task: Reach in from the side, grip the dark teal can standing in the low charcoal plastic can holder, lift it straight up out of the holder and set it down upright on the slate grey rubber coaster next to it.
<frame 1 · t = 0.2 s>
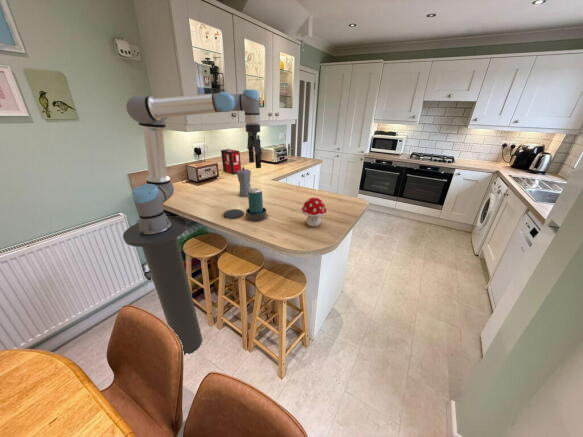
hand: (254, 165, 129), 28 cm above the table, tool pointing down, fingers open, 13 cm apart
can: (256, 215, 134), point 1 cm above the table, touching holder
decorative mushroom: (313, 224, 126), on the table
moka pot: (245, 194, 168), on the table
coaster: (233, 214, 137), on the table
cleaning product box: (232, 172, 223), on the table
holder: (256, 216, 134), on the table
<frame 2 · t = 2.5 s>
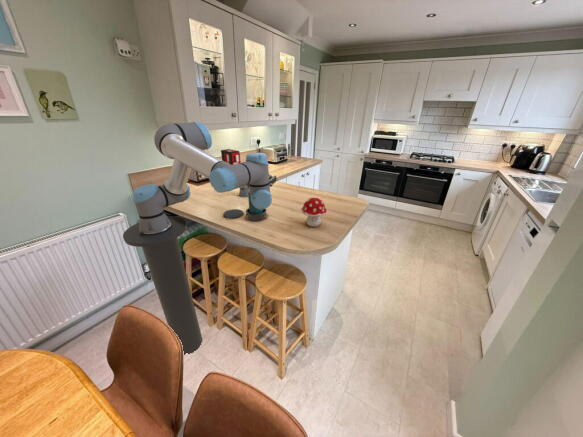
hand: (253, 176, 115), 26 cm above the table, tool horizontal, fingers open, 13 cm apart
nothing on the table moved.
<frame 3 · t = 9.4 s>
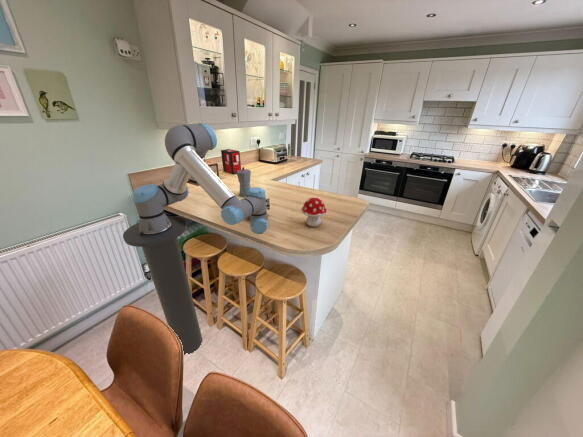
hand: (255, 196, 134), 10 cm above the table, tool horizontal, fingers closed on can, 8 cm apart
can: (256, 215, 134), point 1 cm above the table, touching gripper, holder
everything else where it was.
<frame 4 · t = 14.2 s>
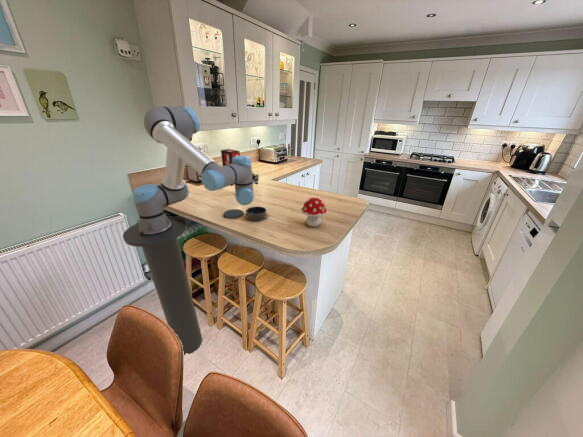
hand: (243, 173, 129), 24 cm above the table, tool horizontal, fingers closed on can, 8 cm apart
can: (245, 193, 129), point 14 cm above the table, touching gripper
everything else where it was.
when the fingers open (11 cm above the table, at t = 19.4 s): can stays where it is, resting on coaster.
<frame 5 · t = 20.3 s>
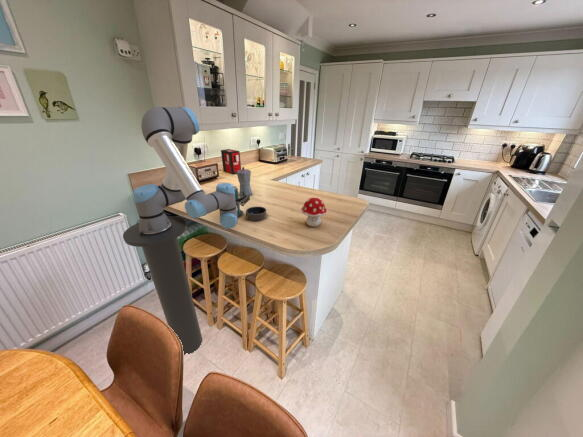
hand: (231, 194, 134), 12 cm above the table, tool horizontal, fingers open, 13 cm apart
can: (233, 213, 136), point 1 cm above the table, touching coaster
everything else where it was.
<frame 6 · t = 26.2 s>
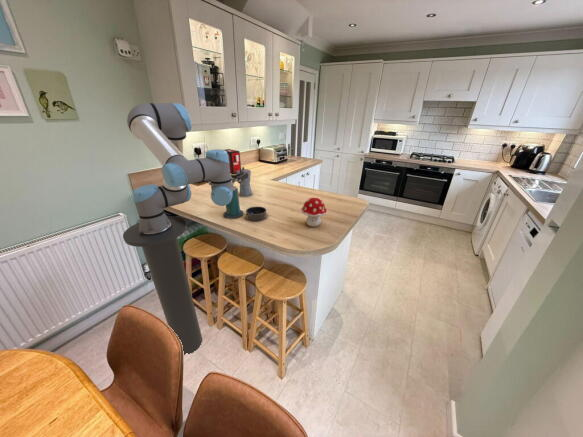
hand: (226, 171, 116), 28 cm above the table, tool horizontal, fingers open, 13 cm apart
nothing on the table moved.
at the end: can 0.1 cm off-centre on the coaster, point 1.0 cm above the coaster's base; can tilted 0°; can touching coaster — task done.
